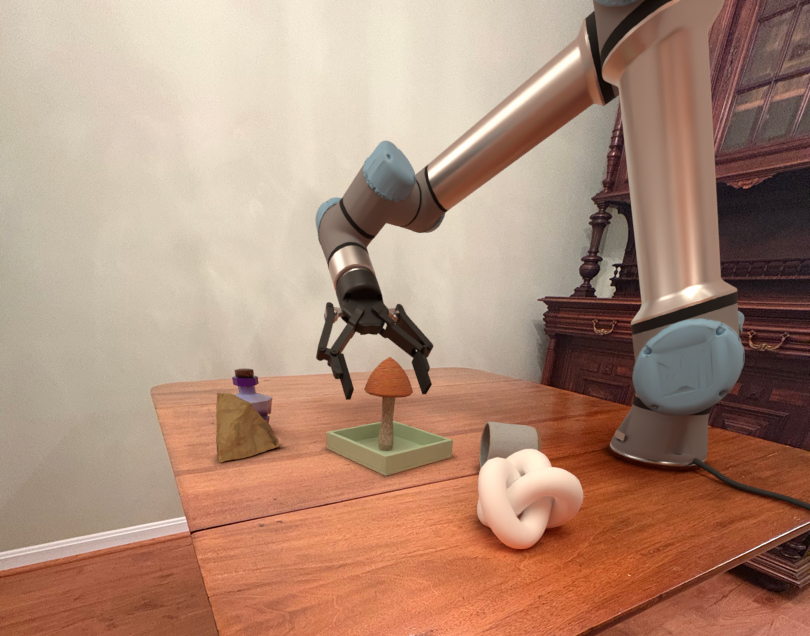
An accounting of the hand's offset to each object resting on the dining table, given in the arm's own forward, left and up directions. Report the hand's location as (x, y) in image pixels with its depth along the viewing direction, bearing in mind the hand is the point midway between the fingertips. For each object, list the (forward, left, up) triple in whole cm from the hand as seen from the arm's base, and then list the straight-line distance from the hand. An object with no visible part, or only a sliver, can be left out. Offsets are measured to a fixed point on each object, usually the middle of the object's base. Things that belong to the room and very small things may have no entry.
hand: (390, 392), depth 69 cm
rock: (+14, +19, -10) cm, 26 cm away
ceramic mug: (-17, -10, -11) cm, 22 cm away
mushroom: (0, 0, -10) cm, 10 cm away
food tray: (0, 0, -10) cm, 10 cm away
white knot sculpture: (-31, +6, -10) cm, 33 cm away
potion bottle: (+24, +14, -10) cm, 30 cm away
